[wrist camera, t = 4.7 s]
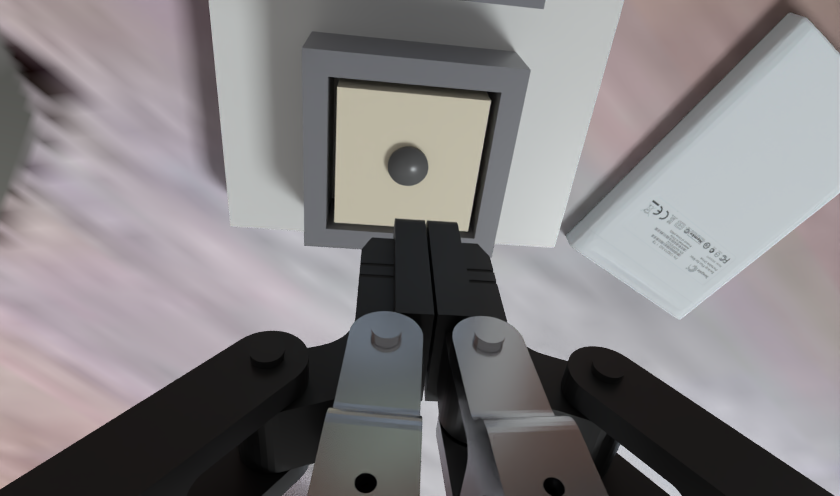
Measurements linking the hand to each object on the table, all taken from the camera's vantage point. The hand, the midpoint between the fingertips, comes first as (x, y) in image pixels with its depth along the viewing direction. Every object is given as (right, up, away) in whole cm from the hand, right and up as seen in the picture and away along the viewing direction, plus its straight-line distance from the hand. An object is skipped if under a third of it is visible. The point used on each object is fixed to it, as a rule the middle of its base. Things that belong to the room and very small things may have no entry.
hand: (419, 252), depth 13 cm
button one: (-1, +4, +8) cm, 9 cm away
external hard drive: (+14, +3, +12) cm, 19 cm away
